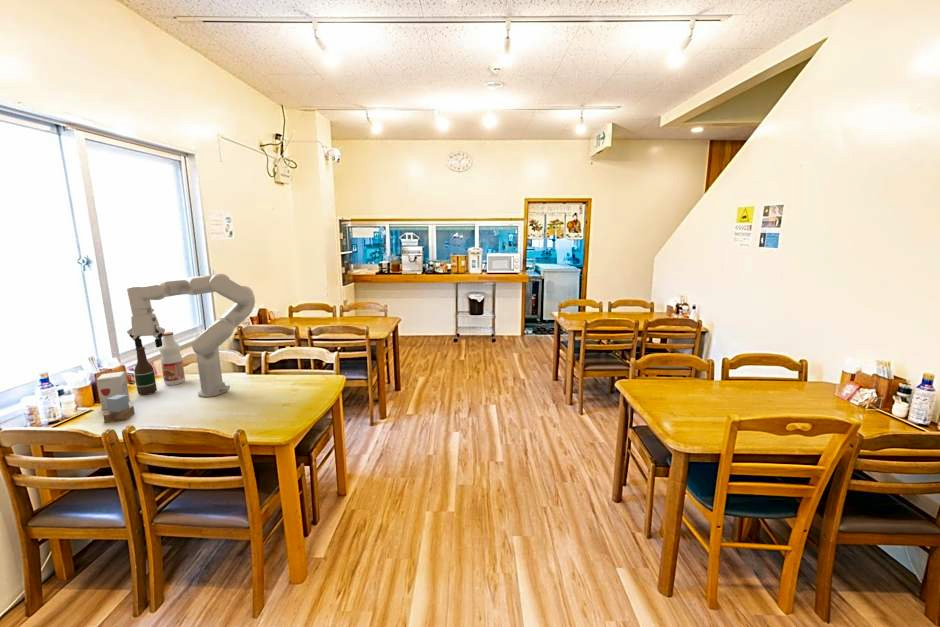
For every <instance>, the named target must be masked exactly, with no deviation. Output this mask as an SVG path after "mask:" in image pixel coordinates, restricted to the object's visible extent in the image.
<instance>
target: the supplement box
mask: <svg viewBox="0 0 940 627" xmlns="http://www.w3.org/2000/svg"><path fill="white" fill-rule="evenodd" d="M96 384H97V390H98V391H97V392H98V395H99V400H100V406H101V410H108V405H107V400H106V399H107V398H110V397H113V396H115V395H127V396H128V402H130V400H131V399H130V393H129V387H128V382H127V376H126V371H117V372H109V373H102V374H101V375H100V376H98V377H97V378H96Z"/></svg>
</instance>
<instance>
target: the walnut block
mask: <svg viewBox="0 0 940 627" xmlns="http://www.w3.org/2000/svg"><path fill="white" fill-rule="evenodd" d="M135 413H136V412H135V406H134V405H129V408H128V409H126V410H123V411H121V412H109V411H108V410H107V411H106V412H105V413H104V414H103V415H102V417H103V418H102V419H103V423H104V424H108V423H117V422H125V421H128V420H129V419H130V418H131V417H132V416H134V415H135Z"/></svg>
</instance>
